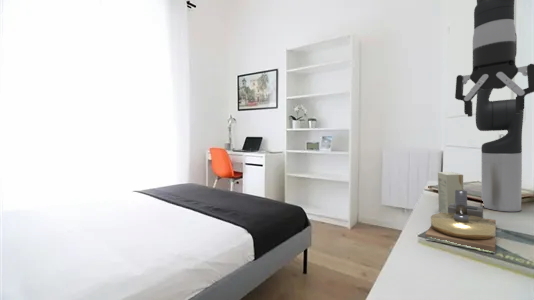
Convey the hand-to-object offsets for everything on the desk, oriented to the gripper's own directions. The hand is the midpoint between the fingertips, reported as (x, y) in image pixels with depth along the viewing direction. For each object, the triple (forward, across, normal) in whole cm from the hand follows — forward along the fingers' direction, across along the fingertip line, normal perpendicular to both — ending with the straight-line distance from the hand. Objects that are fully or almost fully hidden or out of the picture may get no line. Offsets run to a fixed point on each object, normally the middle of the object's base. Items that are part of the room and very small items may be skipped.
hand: (492, 115), depth 61 cm
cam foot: (+26, -5, -8) cm, 28 cm away
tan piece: (+28, -5, -5) cm, 29 cm away
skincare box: (+28, -10, +10) cm, 32 cm away
